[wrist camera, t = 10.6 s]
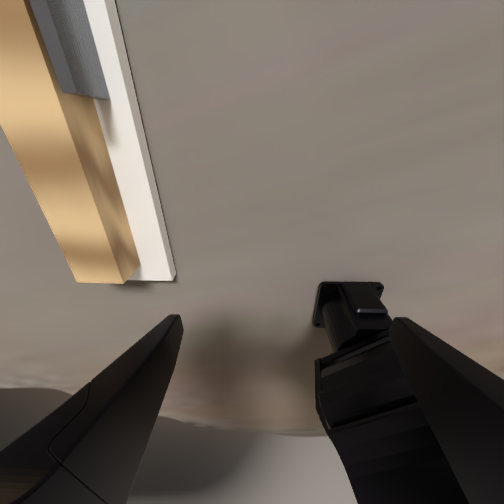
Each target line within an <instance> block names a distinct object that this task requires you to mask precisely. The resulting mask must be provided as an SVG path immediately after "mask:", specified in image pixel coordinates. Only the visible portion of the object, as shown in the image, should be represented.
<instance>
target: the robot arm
mask: <svg viewBox="0 0 504 504" xmlns="http://www.w3.org/2000/svg"><path fill="white" fill-rule="evenodd" d="M324 286H326V287H324ZM377 287H378V288H377ZM383 289H384V286H383V285H382V283H380V282H322V283H321V284H320V286H319V292H318V297H317V302H316V308H315V313H314V319H313V325H314V327H321V328H326V331H327V334H328V337H329V340H330V343H331V346H332V349H333V352H334V353H332V354H330V355H328V356H326V357H323V358H319V359H316V360H315V398H316V410H317V412H318V414H319V418H320V421H321V422H322V425H323V427H324V429H325V431H326V433H327V435H328V436H329V438H330V439H331V441H332V442H333V444H334V446H335V448H336V450H337V452H338V454H339V456H340V458H341V460H342V462H343V465H344V467H345V470H346V472H347V475H348V477H349V480H350V483H351V486H352V489H353V491H354V494H355V497H356V500H357V502H358V504H504V380H503V379H502V378H500V377H498V376H497V375H495V374H494V373H492V372H491V371H489V370H488V369H486V368H484V367H483V366H481V365H480V364H478V363H477V362H475V361H474V360H472V359H471V358H469V357H467V356H466V355H464V354H463V353H461V352H460V351H458V350H457V349H455V348H454V347H452V346H450V345H449V344H447V343H446V342H444V341H443V340H441V339H440V338H438V337H436V336H435V335H433V334H432V333H430V332H429V331H427V330H426V329H424V328H423V327H421V326H419V325H418V324H416V323H415V322H413V321H412V320H410V319H409V318H406V317H395V318H394V320H392V319H391V318H390V316H389V315H388V310H387V309H386V307H385V306H384V305H383V303H382V302H381V300H380V297H381V295H382V292H383ZM183 330H184V329H183V324H182V320H181V317H180V315H178V314H171V315H169V316H167V317H166V318H165V319H164V320H163V321H161V322H160V323H159V324H158V325H157V326H155V327H154V328H153V329H152V330H151V331H149V332H148V333H147V334H146V335H145V336H143V337H142V338H141V339H140V340H139V341H138V342H136V343H135V344H134V345H133V346H132V347H130V348H129V349H128V350H127V351H126V352H124V353H123V354H122V355H121V356H120V357H118V358H117V359H116V360H115V361H114V362H113V363H111V364H110V365H109V366H108V367H107V368H105V369H104V370H103V371H102V372H101V373H99V374H98V375H97V376H96V377H95V378H93V379H92V380H91V382H89V383H87V384H86V385H85V386H84V387H83V388H81V389H80V390H79V391H78V392H77V393H75V394H74V395H73V396H72V397H70V398H69V399H68V400H67V401H66V402H64V403H63V404H62V405H61V406H59V407H58V408H57V409H55V410H54V411H53V412H52V413H50V414H49V415H48V416H46V417H45V418H44V419H42V420H41V421H40V422H38V423H37V424H36V425H34V426H33V427H32V428H30V429H29V430H28V431H26V432H25V433H24V434H22V435H21V436H20V437H18V438H17V439H16V440H14V441H13V442H12V443H10V444H9V445H8V446H6V447H5V448H4V449H2V450H1V451H0V504H126V502H127V499H128V496H129V494H130V491H131V488H132V485H133V482H134V480H135V477H136V474H137V471H138V468H139V466H140V463H141V460H142V457H143V455H144V452H145V449H146V446H147V443H148V441H149V438H150V435H151V432H152V430H153V427H154V424H155V421H156V418H157V416H158V413H159V410H160V407H161V405H162V402H163V399H164V396H165V393H166V391H167V388H168V385H169V382H170V380H171V377H172V374H173V371H174V368H175V364H176V360H177V356H178V352H179V348H180V344H181V340H182V336H183Z"/></svg>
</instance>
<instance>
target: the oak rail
mask: <svg viewBox="0 0 504 504" xmlns="http://www.w3.org/2000/svg"><path fill="white" fill-rule="evenodd" d="M0 124H1V127H2V129H3V131H4V133H5V135H6V137H7V139H8V141H9V143H10V145H11V147H12V149H13V151H14V153H15V155H16V157H17V159H18V161H19V163H20V166H21V168H22V170H23V172H24V174H25V176H26V178H27V180H28V182H29V184H30V186H31V188H32V190H33V192H34V194H35V196H36V198H37V200H38V202H39V205H40V207H41V209H42V211H43V213H44V215H45V217H46V219H47V221H48V223H49V225H50V227H51V229H52V231H53V233H54V235H55V237H56V239H57V241H58V244H59V246H60V248H61V250H62V252H63V254H64V256H65V258H66V260H67V262H68V264H69V266H70V268H71V270H72V272H73V274H74V276H75V278H76V280H77V282H88V283H117V284H124V283H125V282H126V280H127V279H128V278H129V277H130V276H131V275H132V274H133V273H134V272H135V270H136V269H137V268H138V267H139V266H140V265H141V263H140V260H139V256H138V253H137V250H136V246H135V243H134V239H133V236H132V232H131V229H130V225H129V222H128V218H127V215H126V211H125V208H124V204H123V201H122V197H121V194H120V190H119V187H118V184H117V180H116V177H115V173H114V170H113V166H112V163H111V159H110V156H109V152H108V149H107V145H106V142H105V138H104V135H103V131H102V128H101V124H100V121H99V118H98V114H97V111H96V107H95V104H94V100H93V99H92V98H87V97H82V96H77V95H72V94H67V93H63V92H62V90H61V87H60V84H59V81H58V79H57V76H56V73H55V70H54V68H53V65H52V62H51V59H50V56H49V54H48V51H47V48H46V45H45V43H44V40H43V37H42V34H41V32H40V29H39V26H38V23H37V21H36V18H35V15H34V12H33V9H32V7H31V4H30V1H29V0H0Z"/></svg>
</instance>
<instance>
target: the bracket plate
mask: <svg viewBox="0 0 504 504" xmlns="http://www.w3.org/2000/svg"><path fill="white" fill-rule="evenodd" d="M29 1H30V4H31V7H32V9H33V12H34V15H35V18H36V21H37V23H38V26H39V29H40V32H41V34H42V37H43V40H44V43H45V45H46V48H47V51H48V54H49V56H50V59H51V62H52V65H53V68H54V70H55V73H56V76H57V79H58V81H59V84H60V87H61V90H62V92H63V93H67V94H72V95H77V96H82V97H87V98H92V99H93V100H94V104H95V107H96V111H97V114H98V118H99V121H100V124H101V128H102V131H103V135H104V138H105V142H106V145H107V149H108V152H109V156H110V159H111V163H112V166H113V170H114V173H115V177H116V180H117V184H118V187H119V190H120V194H121V197H122V201H123V204H124V208H125V211H126V215H127V218H128V222H129V225H130V229H131V232H132V236H133V239H134V243H135V246H136V250H137V253H138V256H139V260H140V263H141V265H140V266H139V267H138V268H137V269H136V270H135V272H134V273H133V274H132V275H131V276H130V277H129V278H128V279H127V280H153V281H172V280H173V278H174V277H175V275H176V271H175V266H174V262H173V257H172V253H171V249H170V244H169V240H168V235H167V231H166V226H165V222H164V217H163V213H162V209H161V204H160V200H159V195H158V191H157V186H156V182H155V178H154V173H153V169H152V164H151V160H150V155H149V151H148V147H147V142H146V138H145V133H144V129H143V124H142V120H141V116H140V111H139V107H138V102H137V98H136V93H135V89H134V84H133V80H132V76H131V71H130V67H129V62H128V58H127V53H126V49H125V45H124V40H123V36H122V31H121V27H120V22H119V18H118V14H117V9H116V5H115V0H29Z"/></svg>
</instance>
